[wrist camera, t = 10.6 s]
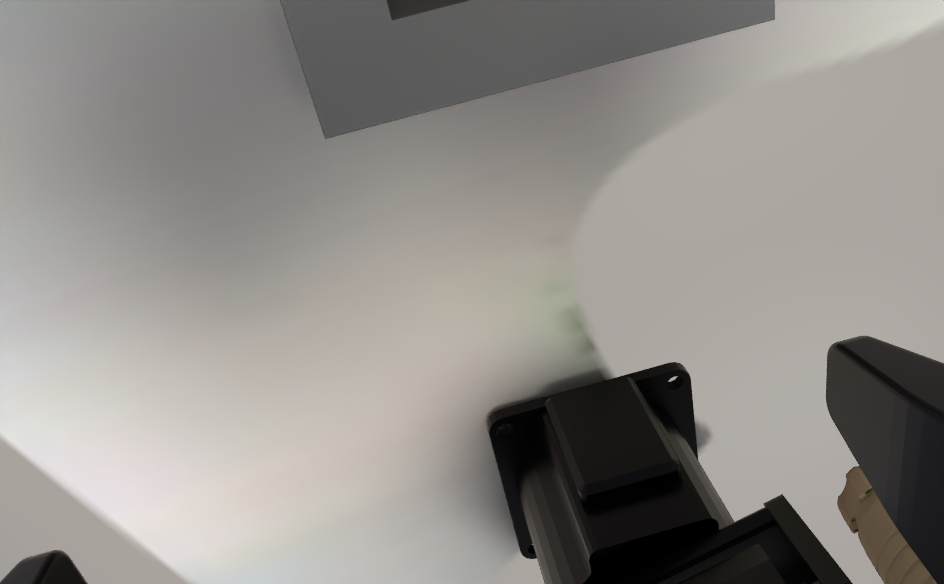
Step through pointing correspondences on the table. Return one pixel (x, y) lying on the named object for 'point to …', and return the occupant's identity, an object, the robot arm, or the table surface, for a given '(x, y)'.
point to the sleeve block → (478, 47)
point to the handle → (879, 533)
